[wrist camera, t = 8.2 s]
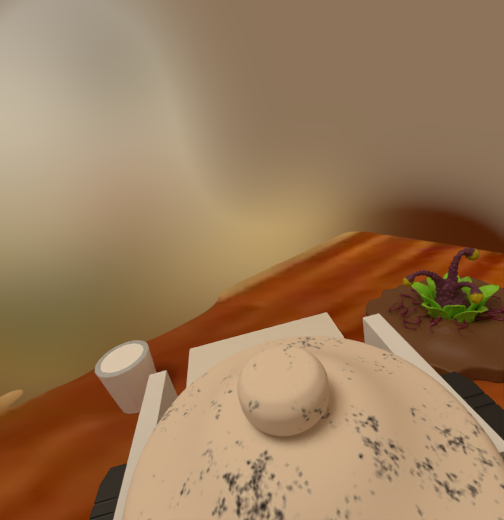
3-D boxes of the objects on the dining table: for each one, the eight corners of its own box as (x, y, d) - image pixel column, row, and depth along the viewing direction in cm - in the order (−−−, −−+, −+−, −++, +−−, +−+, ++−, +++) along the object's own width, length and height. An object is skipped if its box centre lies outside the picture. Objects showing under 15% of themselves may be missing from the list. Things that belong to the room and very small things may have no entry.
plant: (607, 357, 33) (634, 263, 29) (433, 404, 32) (434, 316, 28) (465, 278, 51) (468, 214, 47) (353, 308, 51) (346, 246, 47)
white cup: (144, 372, 47) (127, 335, 44) (175, 384, 43) (159, 344, 40) (105, 408, 42) (83, 368, 39) (136, 425, 38) (114, 382, 35)
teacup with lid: (579, 723, 8) (753, 425, 4) (290, 1091, 6) (-152, 1437, 1) (322, 409, 19) (290, 232, 14) (179, 491, 16) (87, 306, 12)
